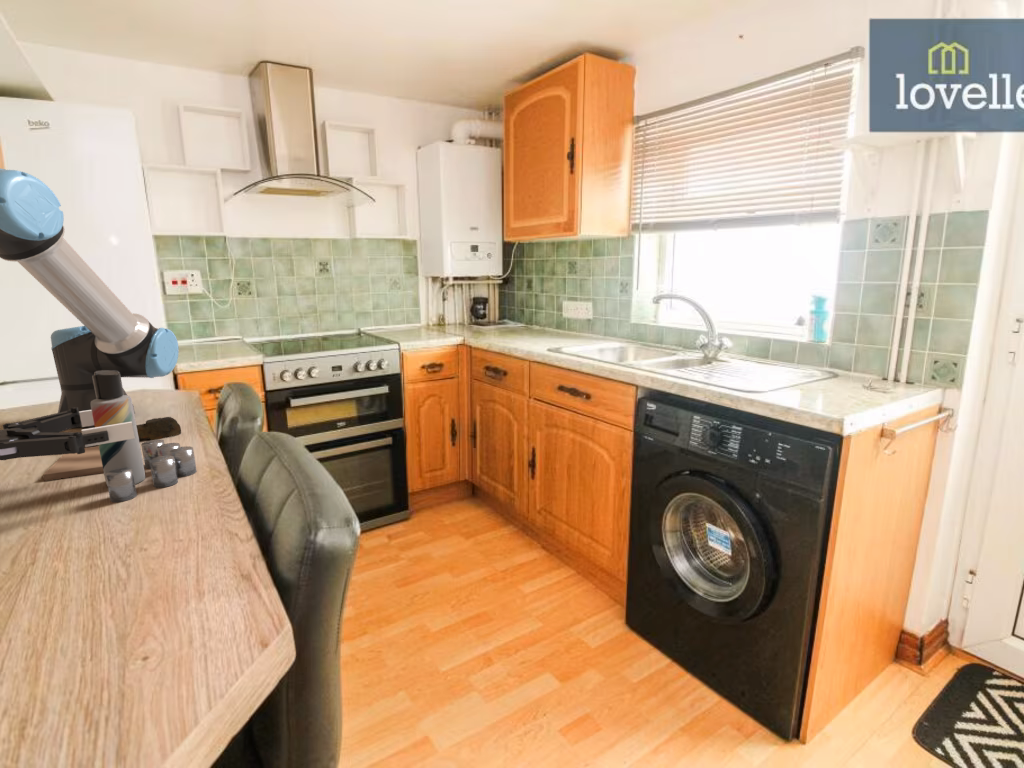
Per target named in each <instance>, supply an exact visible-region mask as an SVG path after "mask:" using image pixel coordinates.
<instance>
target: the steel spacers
mask: <svg viewBox="0 0 1024 768" xmlns="http://www.w3.org/2000/svg"><path fill="white" fill-rule="evenodd" d="M140 447H141V453H142V458H143V464H144V469H148V470H150V472H151V478H152V484H153V487H154V488H157V489H162V488H168V487H171V486H174V485H176V484H178V483H179V478H183V477H189V476H192V475H194V474H196V473H197V464H196V458H195V453H194V452H195V451H194V447H193V446H187V445H186V446H181V444H180V443H179V442H169V443H168V442H167V443H165V440H164V439H157V440H146V441H144V442H142V443H141V444H140ZM105 476H106V480H105V482H106V481H107V484H106V486H107V490H108V495H109V501H110V502H112V503H123V502H126V501H130V500H132V499H134V498H136V497H137V496H138V493H137V487H136V484H135V481H134V476H133V470H132V468H119V469H114V470H111V471H109V472H107V473H106V474H105V475H104V477H105Z"/></svg>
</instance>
